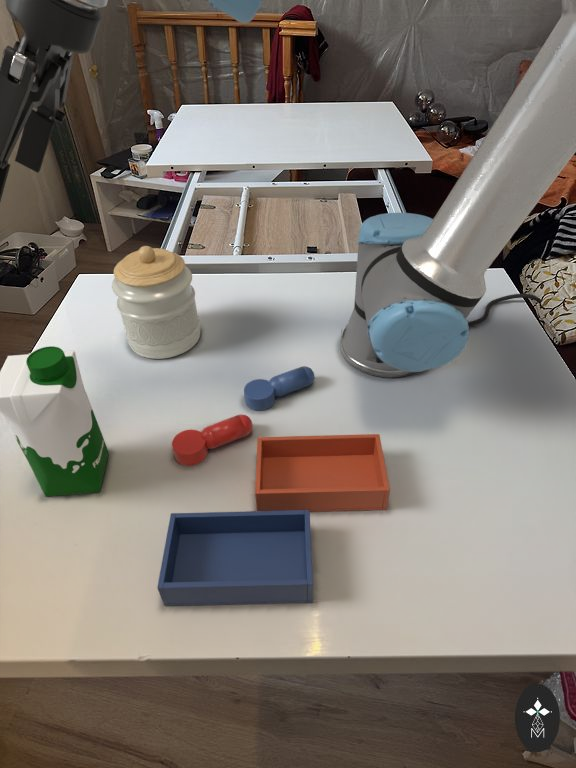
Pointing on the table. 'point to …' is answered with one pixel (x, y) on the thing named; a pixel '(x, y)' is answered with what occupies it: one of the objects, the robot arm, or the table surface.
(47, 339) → the table surface
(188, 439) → the red disc-headed bar
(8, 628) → the table surface
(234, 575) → the bin blue
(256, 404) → the blue toy rattle
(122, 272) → the jar
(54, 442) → the milk carton
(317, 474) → the bin red
